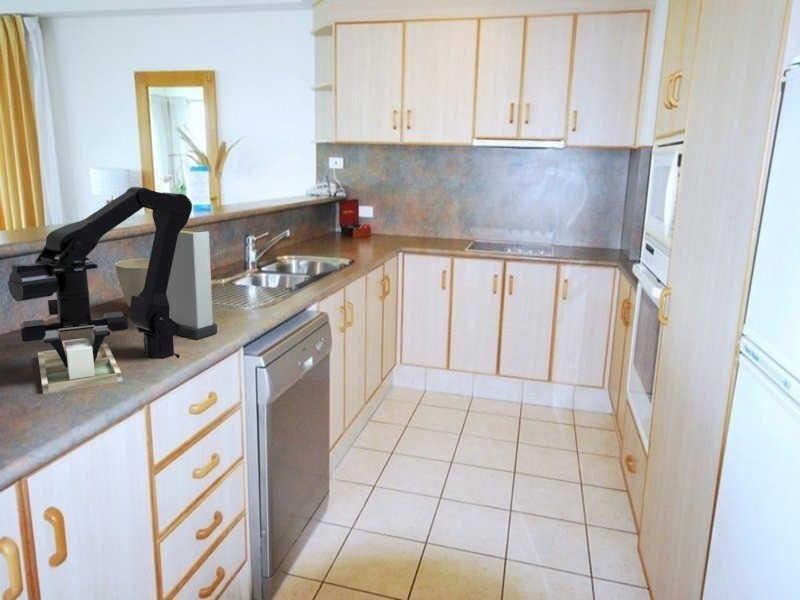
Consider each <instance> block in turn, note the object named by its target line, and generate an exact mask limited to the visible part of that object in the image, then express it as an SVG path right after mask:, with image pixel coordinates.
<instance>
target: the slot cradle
mask: <svg viewBox="0 0 800 600" xmlns="http://www.w3.org/2000/svg"><path fill="white" fill-rule="evenodd" d="M37 357H38V365H39V372H40V380H41V389H42V394H43V395H44V394H52V393H57V392H63V391H64V392H65V391H70V390H76V389H83V388H88V387H95V386H100V385H105V384H112V383H117V382H118V383H119V382H123V374H122V371H121V370H120V369H121V368H120V367H119V365H118V364H117V360H115V356H114V355H113V353H112V351H111V349H110V347H109V345H108V343H107V342H106V343H105V342H104V343H102V344H101V346H100V348H99V351H98V354H97V357H96V360H95V363H94V371H95V376H90V377H83V378H77V379H71V380H70V378H69V374H68V370H67V368H66V367H65V365H64V363H63V362H62V360H61V358H60V356H59V354H58V352H57V351H56V350H55V349H52V350H43V351H37Z"/></svg>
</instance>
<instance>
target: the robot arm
mask: <svg viewBox="0 0 800 600" xmlns="http://www.w3.org/2000/svg"><path fill="white" fill-rule="evenodd" d="M143 208H145V209H149V210H152V213H151V215H152V220H153V223H154V227H155V232H154V237H153V242H152V247H151V252H150V255H149V259H150V260H149V265H148V270H147V275H146V280H145V285H144V289H143V291H142V292H141V293H140V294H139V296H138V297H137V296H132V297H131V305H130V308H129V307H128V308H129V309H128V310H127V313H129V321H130V322H131V324H133V326H135V328H136V329H137V331H138V333H143V347H144V349H143V350H144V354H145V355H146V357H147V358H149V359H153V360H154V359H155V360H164V359H168V358H171V357H173V356H175V357H176V358H180V354H178V353H175V347H174V344H175V343H174V337H175V336H177V335H178V332H179V328H180V326H179V325H178V324H177V323H176V322H174V321H173V320H172V319H170V318H169V313H170V306H169V302H168V299H167V295H166V292H167V287H168V282H169V277H170V272H171V267H172V263H173V258H174V253H175V248H176V243H177V238H178V234H179V232H180V231H181V230H182V229H183V228H185V226H186V225H187V224H188V222H189V219H190V216H191V213H192V210H193V204H192V201H191V200H190V198H189V197H188V196H187V195H186V194H183V193H176V192H175V193H174V192H165V191H164V192H160V191H155V190H151V189H150V188H147V187H141V186H140V187H139V186H132V187H129V188H128V189H127V190H126V191H125V192H124V193H122V194H121V195H119V196H118V197H116V198H115V199H113V200H111V201H110V202H109V203H107V204H106V205H104V206H102V207H101V208H100V209H99V208H98V210H97V211H95V212H93V213H92V214H90V215H89V216H88V217H85V218H84V219H81V220H79V221H76V222H73V223H68V224H66V225H63V226H60V227H59V228H57V229H54V230H51V231H50V232H49V233H48V234H47V236H46V238H45V239H46V241H45V245H44V247H43V249H42V250H41V251H40V253H39V255H38V256H37V258H36V260H35V261H34V263H29V264H27V263H26V264H21V263H20V264H13V265H12V266H11V269H12V271H11V272H10V273H9V277H8V281H7V286H8V290H9V293H10V295H11V297H12V298H13V300H15V301H16V302H24V301H30V300H37V299H43V298H49V297H52V296H53V294H56V295H55V297H56V299H48V300H47V307H48V315H49V317H50V316H57V320H58V322H51V323H45V320H44V319H35V320H24V321H23V322H22V323H20V333H21V339H22V340H21V341H22V342H25V343H27V342H35V341H42V340H43V343H44V344H50V345H51V346H52V347H53V348H54V349H53V350H56V351H57V352H58V354H59V356H60V358H61V360H62V362H63V363H64V365H65V367H66V368H68V364H67V358H66V354H65V351H64V347H63V344H62V341H63V340H62V337H61V334H60V333H63V332H69V331H80V330H87V329H90V330H91V343H90V344H91V346H92V350H93V360H94V363H95V360H96V357H97V354H98V351H99V348H100V346H101V344H103V342H104V340H105V338H106V337H109V336H111V331H112V332H119V331H126V330H129V321H128V317H127V315H125V313H124V312H122V311H114V312H112V311H111V312H104V313H103V317H100V318H92V313H91V312H92V311H91V302H90V290H89V283H88V282H89V280H88V272H87V270H93V269H97V268H98V264H96V263H94V262H93V261H92V260H91V259H90V258H89V257H88V256H89V254H90V253H91V252H92V251H93V250H95V249H96V247H97V246H98V243H99V242H100V240H101V238H103V236H105V235H106V234H107V233H109V232H110V231H111V230H113V229H114V228H116V227H117V226H119V225H120V224H122V223H123V222H124V221H126V220H127V219H129V218H130V217H132V216H133V215H135V214H136V213H138V212H139V211H141V210H142V209H143ZM57 258H58V259H57ZM178 336H179V335H178Z"/></svg>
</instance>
